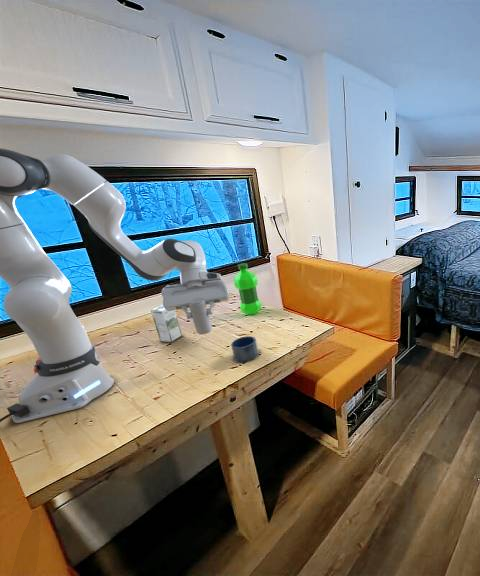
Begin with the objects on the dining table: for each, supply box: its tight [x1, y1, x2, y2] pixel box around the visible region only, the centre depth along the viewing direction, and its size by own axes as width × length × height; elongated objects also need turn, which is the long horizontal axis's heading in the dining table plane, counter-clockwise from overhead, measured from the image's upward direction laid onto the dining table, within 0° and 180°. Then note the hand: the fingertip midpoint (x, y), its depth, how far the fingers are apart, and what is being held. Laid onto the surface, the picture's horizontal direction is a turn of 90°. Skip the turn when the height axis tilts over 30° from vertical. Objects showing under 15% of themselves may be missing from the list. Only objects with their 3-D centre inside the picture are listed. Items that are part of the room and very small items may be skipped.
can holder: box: [230, 335, 259, 363], centre depth 114 cm, size 8×8×6 cm
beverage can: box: [188, 298, 212, 335], centre depth 106 cm, size 5×5×12 cm
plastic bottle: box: [233, 262, 262, 316], centre depth 147 cm, size 10×10×25 cm
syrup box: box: [150, 304, 183, 343], centre depth 127 cm, size 6×6×14 cm
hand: (200, 316), depth 106 cm, fingers closed on beverage can, 5 cm apart
